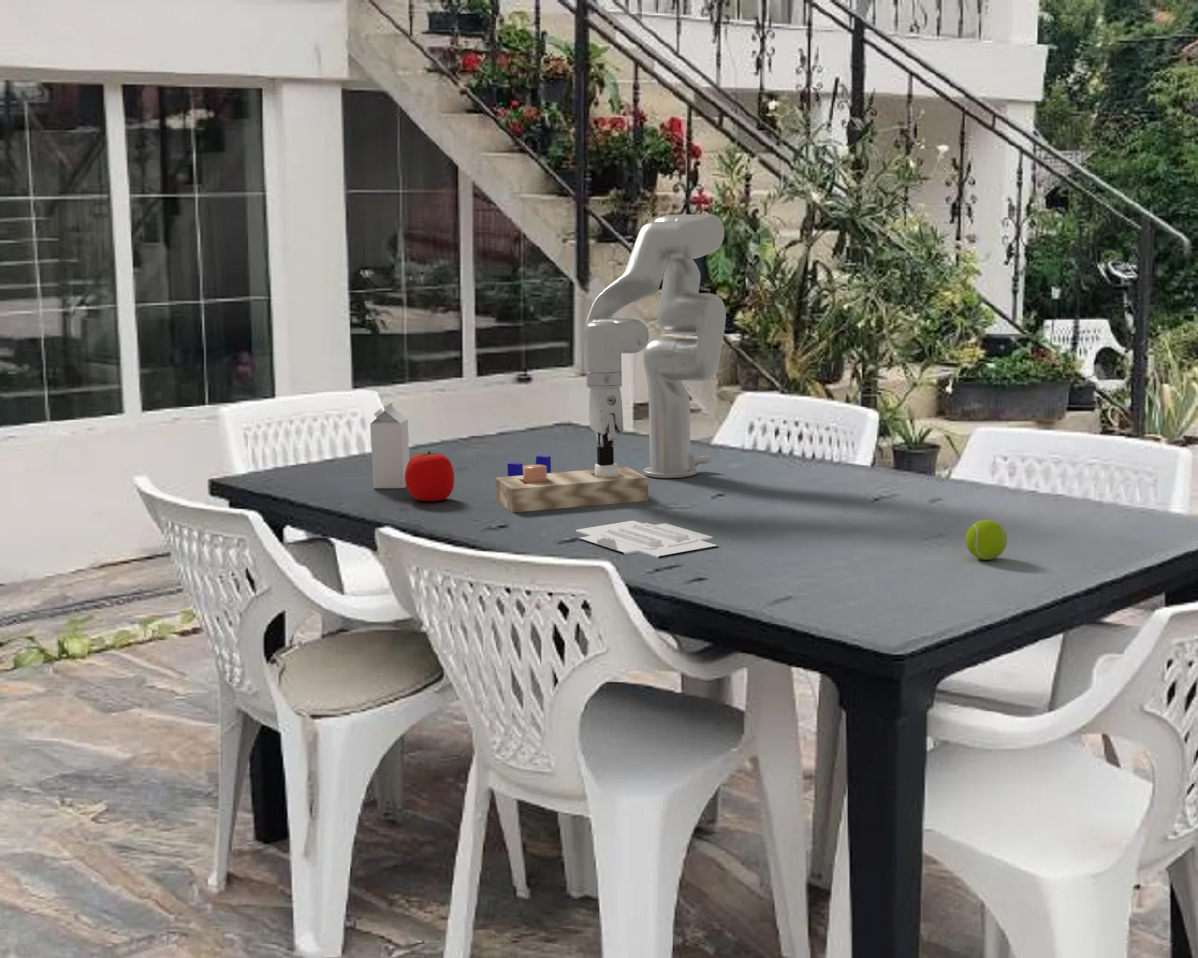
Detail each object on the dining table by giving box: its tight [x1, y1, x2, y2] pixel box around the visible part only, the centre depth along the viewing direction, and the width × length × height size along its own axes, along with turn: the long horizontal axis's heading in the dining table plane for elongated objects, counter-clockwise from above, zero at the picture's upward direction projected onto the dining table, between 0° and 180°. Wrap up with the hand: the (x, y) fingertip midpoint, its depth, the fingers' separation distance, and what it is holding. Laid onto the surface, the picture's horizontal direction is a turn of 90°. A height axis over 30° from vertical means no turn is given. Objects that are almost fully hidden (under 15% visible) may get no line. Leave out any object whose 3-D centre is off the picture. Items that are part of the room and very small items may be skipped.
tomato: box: [405, 450, 455, 502], centre depth 330 cm, size 10×11×11 cm
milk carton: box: [369, 401, 411, 489], centre depth 347 cm, size 7×7×19 cm
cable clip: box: [507, 454, 552, 477], centre depth 346 cm, size 12×4×6 cm, turn 145°
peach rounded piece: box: [522, 464, 547, 484], centre depth 324 cm, size 5×5×5 cm
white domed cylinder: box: [594, 462, 619, 478], centre depth 329 cm, size 5×5×5 cm
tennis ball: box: [965, 519, 1008, 561], centre depth 267 cm, size 7×7×7 cm
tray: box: [575, 520, 720, 559], centre depth 289 cm, size 20×28×4 cm
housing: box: [494, 466, 649, 513], centre depth 327 cm, size 30×14×5 cm, turn 108°
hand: (605, 464), depth 328 cm, fingers closed
